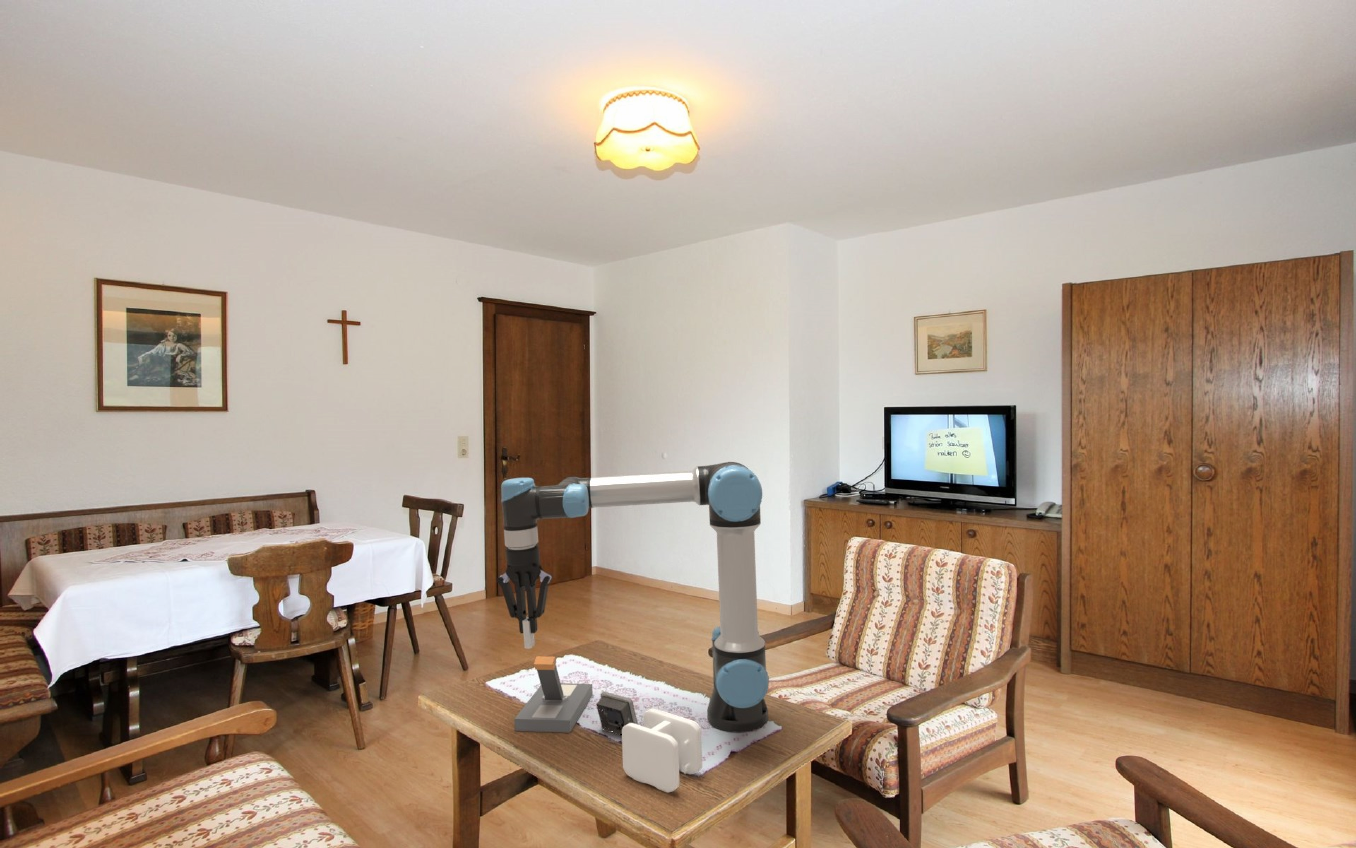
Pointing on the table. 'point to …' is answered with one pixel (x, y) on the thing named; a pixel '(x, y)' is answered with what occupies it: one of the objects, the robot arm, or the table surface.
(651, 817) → the table surface
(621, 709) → the electrical switch
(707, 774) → the table surface
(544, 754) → the table surface
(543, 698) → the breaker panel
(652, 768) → the cable organizer
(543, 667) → the breaker lever
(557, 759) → the table surface
